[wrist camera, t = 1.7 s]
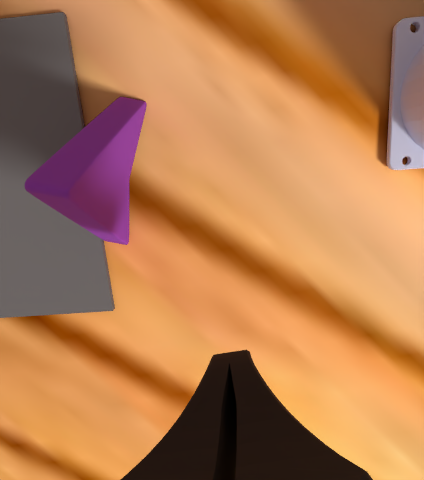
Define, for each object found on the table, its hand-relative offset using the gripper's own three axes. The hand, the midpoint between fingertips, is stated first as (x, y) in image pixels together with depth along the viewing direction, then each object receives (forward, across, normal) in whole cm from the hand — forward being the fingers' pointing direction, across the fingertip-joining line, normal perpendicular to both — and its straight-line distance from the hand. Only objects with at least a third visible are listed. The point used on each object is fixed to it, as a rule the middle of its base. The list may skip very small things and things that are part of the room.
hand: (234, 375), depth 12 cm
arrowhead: (+11, +5, -8) cm, 14 cm away
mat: (+10, +14, -9) cm, 20 cm away
